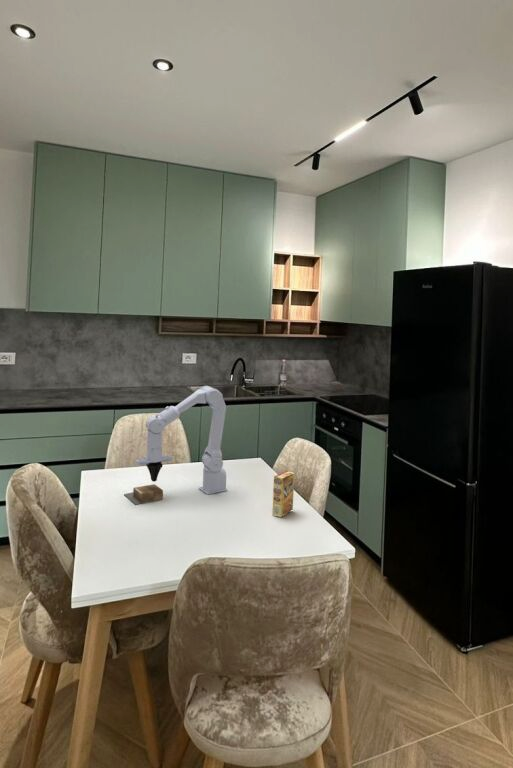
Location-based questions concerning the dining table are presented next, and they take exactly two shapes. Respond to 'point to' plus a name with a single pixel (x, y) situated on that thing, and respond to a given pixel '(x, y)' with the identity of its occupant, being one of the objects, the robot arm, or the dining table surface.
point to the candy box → (283, 493)
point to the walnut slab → (148, 493)
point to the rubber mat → (134, 500)
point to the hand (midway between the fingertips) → (153, 480)
